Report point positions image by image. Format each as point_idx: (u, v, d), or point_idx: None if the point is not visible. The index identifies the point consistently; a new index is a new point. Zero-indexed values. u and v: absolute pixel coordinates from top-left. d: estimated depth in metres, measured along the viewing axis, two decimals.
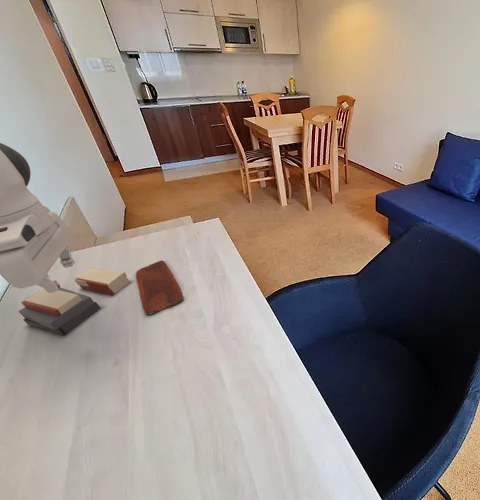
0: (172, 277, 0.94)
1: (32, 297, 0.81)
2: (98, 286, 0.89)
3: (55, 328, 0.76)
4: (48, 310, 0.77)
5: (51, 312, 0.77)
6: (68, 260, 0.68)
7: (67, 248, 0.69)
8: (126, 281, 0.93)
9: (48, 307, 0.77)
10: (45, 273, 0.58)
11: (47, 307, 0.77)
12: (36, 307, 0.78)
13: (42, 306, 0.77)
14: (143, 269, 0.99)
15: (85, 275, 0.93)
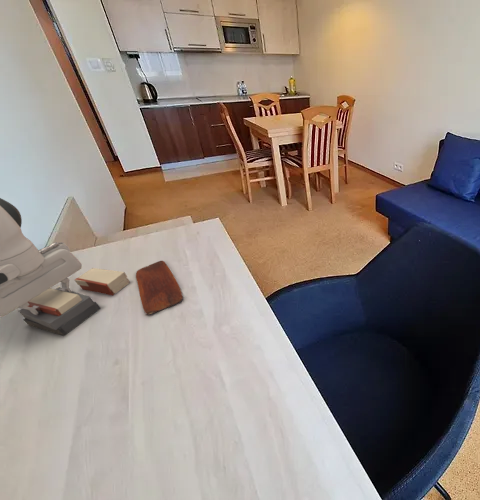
0: (172, 277, 0.94)
1: None
2: (98, 286, 0.89)
3: (55, 328, 0.76)
4: (48, 310, 0.77)
5: (51, 312, 0.77)
6: (63, 290, 0.82)
7: (66, 281, 0.82)
8: (126, 281, 0.93)
9: (48, 307, 0.77)
10: (14, 307, 0.72)
11: (47, 307, 0.77)
12: None
13: (42, 306, 0.77)
14: (143, 269, 0.99)
15: (85, 275, 0.93)
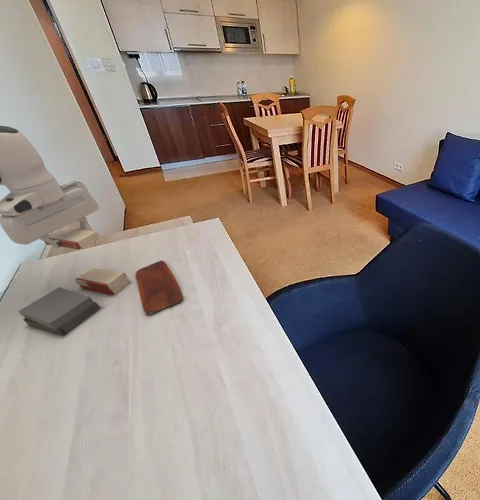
0: (172, 277, 0.94)
1: (52, 234, 0.84)
2: (98, 286, 0.89)
3: (55, 328, 0.76)
4: (68, 243, 0.80)
5: (71, 245, 0.80)
6: (81, 229, 0.85)
7: (84, 219, 0.85)
8: (126, 281, 0.93)
9: (68, 241, 0.80)
10: (37, 237, 0.75)
11: (67, 241, 0.80)
12: None
13: (63, 240, 0.81)
14: (143, 269, 0.99)
15: (85, 275, 0.93)
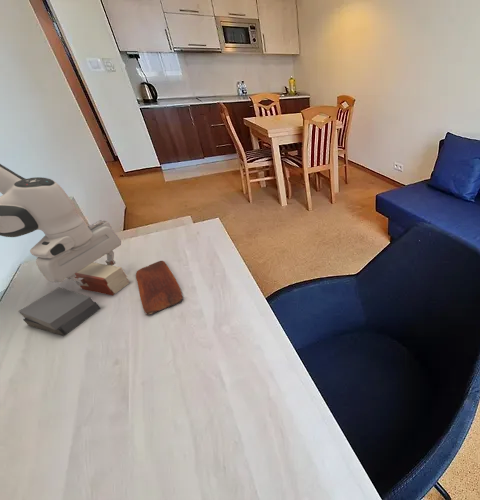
0: (172, 277, 0.94)
1: None
2: (98, 286, 0.89)
3: (55, 328, 0.76)
4: (96, 279, 0.88)
5: (99, 281, 0.88)
6: (109, 262, 0.94)
7: (111, 253, 0.94)
8: (126, 281, 0.93)
9: (96, 277, 0.88)
10: (69, 275, 0.83)
11: (95, 277, 0.88)
12: (85, 277, 0.89)
13: (91, 276, 0.88)
14: (143, 269, 0.99)
15: None
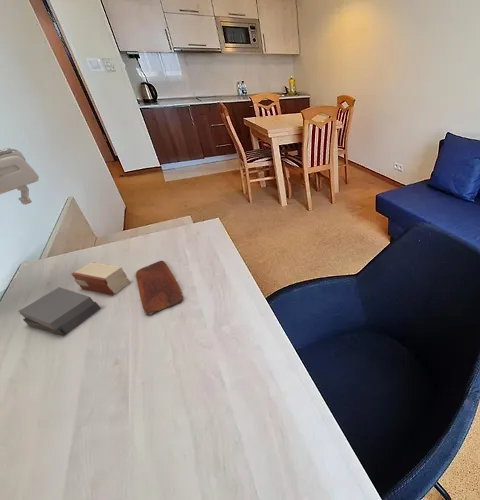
0: (172, 277, 0.94)
1: (80, 269, 0.92)
2: (98, 286, 0.89)
3: (55, 328, 0.76)
4: (96, 279, 0.88)
5: (99, 281, 0.88)
6: (22, 199, 0.81)
7: (25, 189, 0.81)
8: (126, 281, 0.93)
9: (96, 277, 0.88)
10: None
11: (95, 277, 0.88)
12: (85, 277, 0.89)
13: (91, 276, 0.88)
14: (143, 269, 0.99)
15: None
